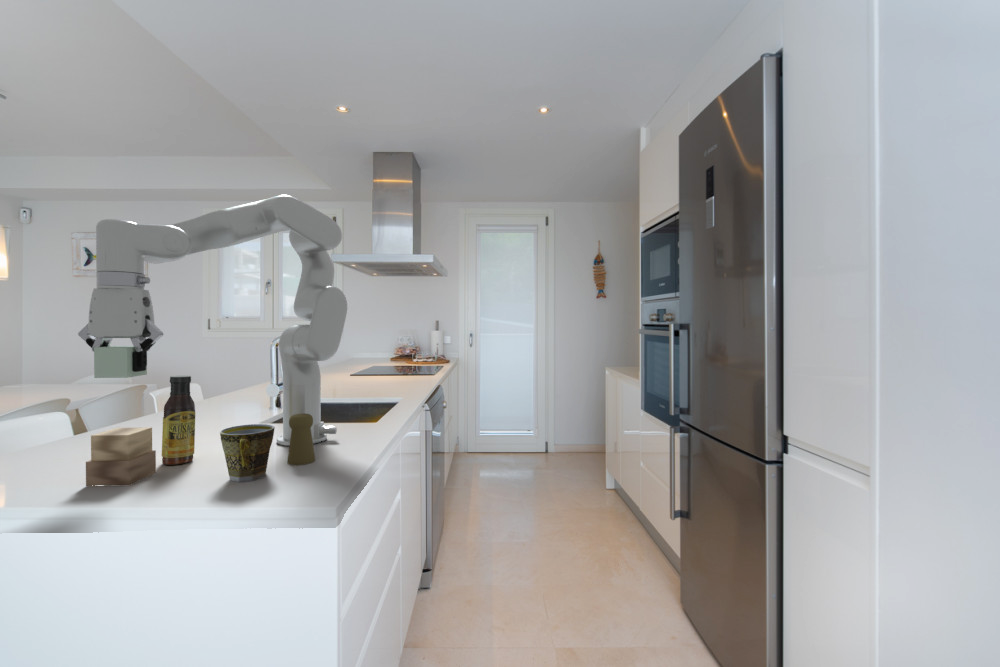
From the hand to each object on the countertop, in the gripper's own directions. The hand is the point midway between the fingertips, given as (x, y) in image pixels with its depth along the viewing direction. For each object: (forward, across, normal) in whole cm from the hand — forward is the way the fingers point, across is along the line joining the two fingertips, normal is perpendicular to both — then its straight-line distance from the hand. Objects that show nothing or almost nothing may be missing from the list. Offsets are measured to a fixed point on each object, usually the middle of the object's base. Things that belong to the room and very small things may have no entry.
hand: (121, 370), depth 96 cm
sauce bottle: (+22, -4, -12) cm, 26 cm away
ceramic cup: (+23, -25, +2) cm, 34 cm away
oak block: (+18, 0, 0) cm, 18 cm away
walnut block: (+23, 0, 0) cm, 23 cm away
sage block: (+1, 0, 0) cm, 1 cm away
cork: (+22, -32, -10) cm, 40 cm away
